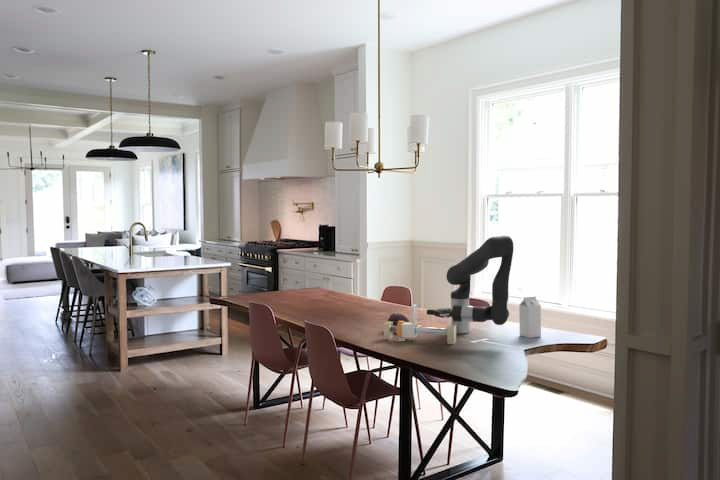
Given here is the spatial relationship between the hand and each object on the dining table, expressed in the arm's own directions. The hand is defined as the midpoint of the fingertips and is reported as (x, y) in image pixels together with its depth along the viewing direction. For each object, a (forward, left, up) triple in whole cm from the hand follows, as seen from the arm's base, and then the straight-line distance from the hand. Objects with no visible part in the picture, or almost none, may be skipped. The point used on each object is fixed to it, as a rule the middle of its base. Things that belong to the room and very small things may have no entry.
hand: (427, 312), depth 271 cm
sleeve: (+1, -9, -12) cm, 15 cm away
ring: (+1, -13, -13) cm, 18 cm away
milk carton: (-28, +42, -14) cm, 53 cm away
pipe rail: (0, -4, -14) cm, 14 cm away
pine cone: (-16, -21, -14) cm, 30 cm away
